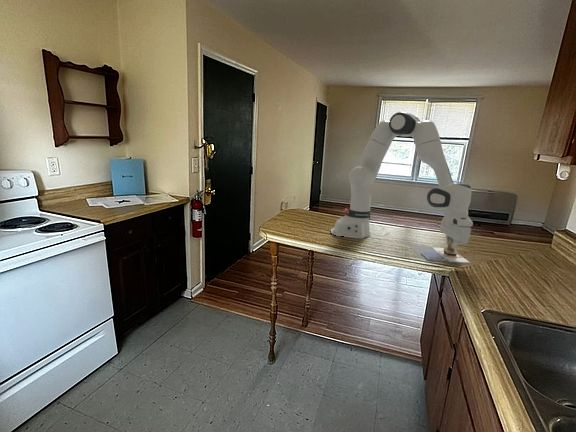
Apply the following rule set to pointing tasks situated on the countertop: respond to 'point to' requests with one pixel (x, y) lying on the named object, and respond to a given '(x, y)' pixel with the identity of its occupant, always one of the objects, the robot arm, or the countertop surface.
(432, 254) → the stamping board
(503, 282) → the countertop surface
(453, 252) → the stamp
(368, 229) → the robot arm
